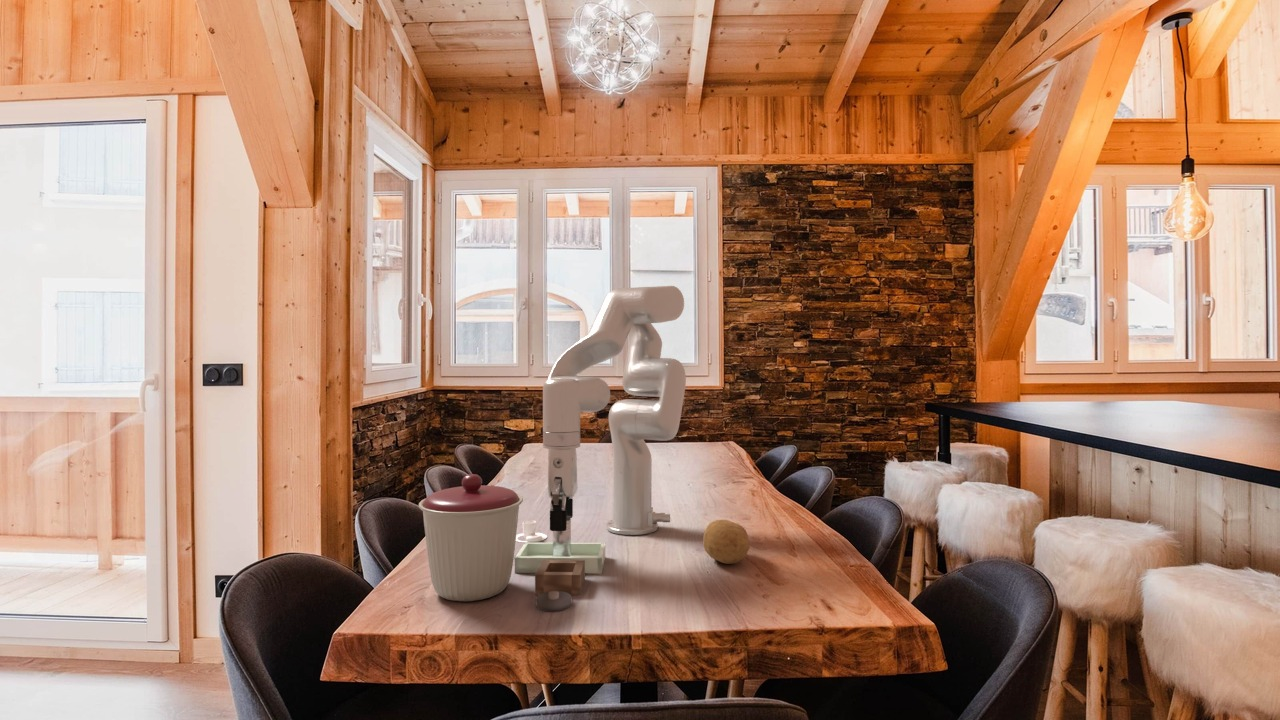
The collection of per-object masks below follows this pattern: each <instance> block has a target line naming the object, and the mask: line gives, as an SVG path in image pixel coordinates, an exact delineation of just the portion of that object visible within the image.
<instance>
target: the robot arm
mask: <svg viewBox="0 0 1280 720" xmlns="http://www.w3.org/2000/svg"><path fill="white" fill-rule="evenodd" d="M684 309H685V298H684V295H683V292H682V291H681V290H680V289H679V288H678V286H675V285H658V286H639V287H623V288H622V287H621V288H616V289H612V290H610V291H609V292H608V293H607V294H606V295H605V297H604V299H603V300H602V303H601V305H600V307H599V310H598V311H597V314H596V316H595V318H594V320H593V323H592V325H591V326H590V329H589V330H588V333H587V334H586V336H584V337H582V338H581V339H579V340H578V341H577V342H575V343H574V344H572V346H570V347H569V348H568V349H567V350H565V351H564V352H563V353H561V355H560V356H559V357H558V358H557V360H556V361H555V363H554V364H553V366H552V368H551V371H550V373H549V374H548V375H549V376H547V380H545V381H544V383H543V386H542V448H544V449H547V452H548V453H547V495H548V497H549V498H550V507H549V509H550V510H549V530H550V531H551V532H553V531H566V529H567V515H570V516H571V518H573V516H574V515H573V513H574V512H573V511H574V510H573V509H574V506H573V505H574V500H573V498H574V497H575V495H576V494H577V491H578V489H579V488H578V460H577V449H578V448H580V447H581V413H582V412H583V413H596V412H599V411H602V410H603V409H605V408H606V407H607V405H608V404H609V402H610V399H611V389H610V386H609V385H608V383H607V382H606V381H605V380H604V379H602V378H600V377H597V376H596V377H595V376H579V375H580V374H581V373H583V372H584V371H586V370H587V369H589V368H590V367H593V366H595V365H598V364H601V363H604V362H606V361H608V360H610V359H612V358H614V357H617V356H618V355H619V354H620V353H621V352H622V350H624V349H623V348H624V345H625V343H626V341H627V339H628V346H627V351H626V358H625V363H624V367H623V375H622V382H621V383H622V388H623V390H624V391H625V392H626V393H627V394H629V395H631V396H638V397H656V398H659V399H658V400H656V399H655V400H654V399H653V400H652V399H651V400H650V399H633V398H631V399H626V398H625V399H622V400H621V399H620V400H617V401H616V402H615V403H613V404H612V406H611V407H610V409H609V413H608V425H609V430H610V431H609V432H610V436H611V437H610V438H611V444H612V446H611V447H612V519H611V520H609V521H607V522H606V526H605V527H606V530H607V531H608V532H610V533H613V534H617V535H623V536H625V535H626V536H640V535H641V536H642V535H647V534H651V533H654V532H656V531H657V530H658V529H659V528H658V527H659V524H658V523H660V522H661V523H671V514H670V513H669V514H668V513H667V514H666V513H665V512H656V511H654V509H653V507H652V504H653V503H652V500H653V499H652V497H653V496H652V494H653V493H652V484H653V483H652V471H653V470H652V467H653V466H652V455H651V451H650V448H649V446H648V445H647V443H646V441H645V440H647V441H663V442H664V441H666V442H667V441H670V440H673V439H674V438H675V437H676V435H677V433H678V431H679V428H680V422H681V416H682V412H683V411H682V410H683V404H684V399H685V391H686V386H687V385H686V382H687V381H686V380H687V377H686V376H687V375H686V370H685V367H684V365H683V363H682V362H681V361H680V360H678V359H676V358H671V357H670V358H669V357H668V358H667V357H661V355H662V347H663V342H662V338H661V335H660V334H659V333H658V332H659V331H657V330H656V328H655V327H654V325H653V324H660V323H668V322H671V321H675V320H677V319H679V318H680V317H681V316H682V314H683V312H684Z"/></svg>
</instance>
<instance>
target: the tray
mask: <svg viewBox="0 0 1280 720" xmlns="http://www.w3.org/2000/svg"><path fill="white" fill-rule="evenodd" d="M543 560H585V574H602V573H603V570H604V565H605V560H606V542H571V557H553V542H532V543H529V542H525V543H523V545H522V547H520V548H519V550H518V552H517V554H516V555H514V574H536V572H537V570H538V568H539V566H540V565H541V563H542V561H543Z"/></svg>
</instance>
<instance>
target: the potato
mask: <svg viewBox="0 0 1280 720" xmlns="http://www.w3.org/2000/svg"><path fill="white" fill-rule="evenodd" d="M702 539H703V540H702V541H703V543H702V544H703V549H704V551H705V552H706V554H708V556H709V557H710V558H711V559H713V560H716V561H718V562H720V563H722V564H726V565H727V564H728V565H729V564H736V563H738V562H740V561H741V560H743V559H744V558H746V557H747V556H748V552H749V551H750V550H749V549H750V547H751V545H750V539H749V535H748V533H747V530H746V529H745V528H744V527H743V525H740V524H738V523H736V522H733V521H731V520H728V519H716V520H713V521H712V522H710V523H709V524H708V525H707V526H706V527H705V531H704V533H703V536H702Z"/></svg>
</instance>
